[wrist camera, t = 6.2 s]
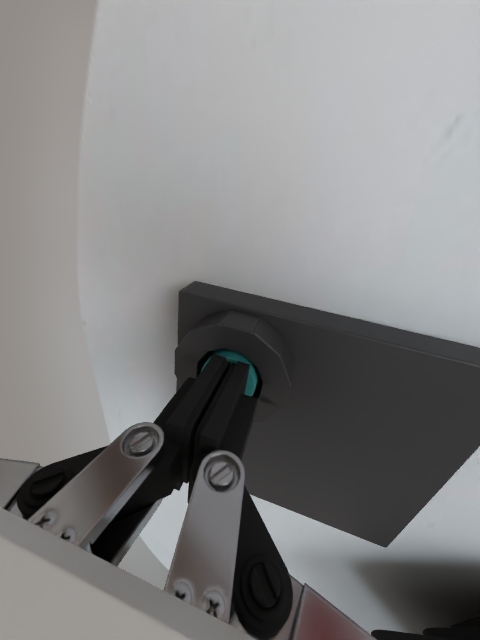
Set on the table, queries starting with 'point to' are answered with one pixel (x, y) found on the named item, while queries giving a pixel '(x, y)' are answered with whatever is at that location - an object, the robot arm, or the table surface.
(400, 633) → the tray
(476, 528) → the table surface
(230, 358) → the button
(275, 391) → the scale
